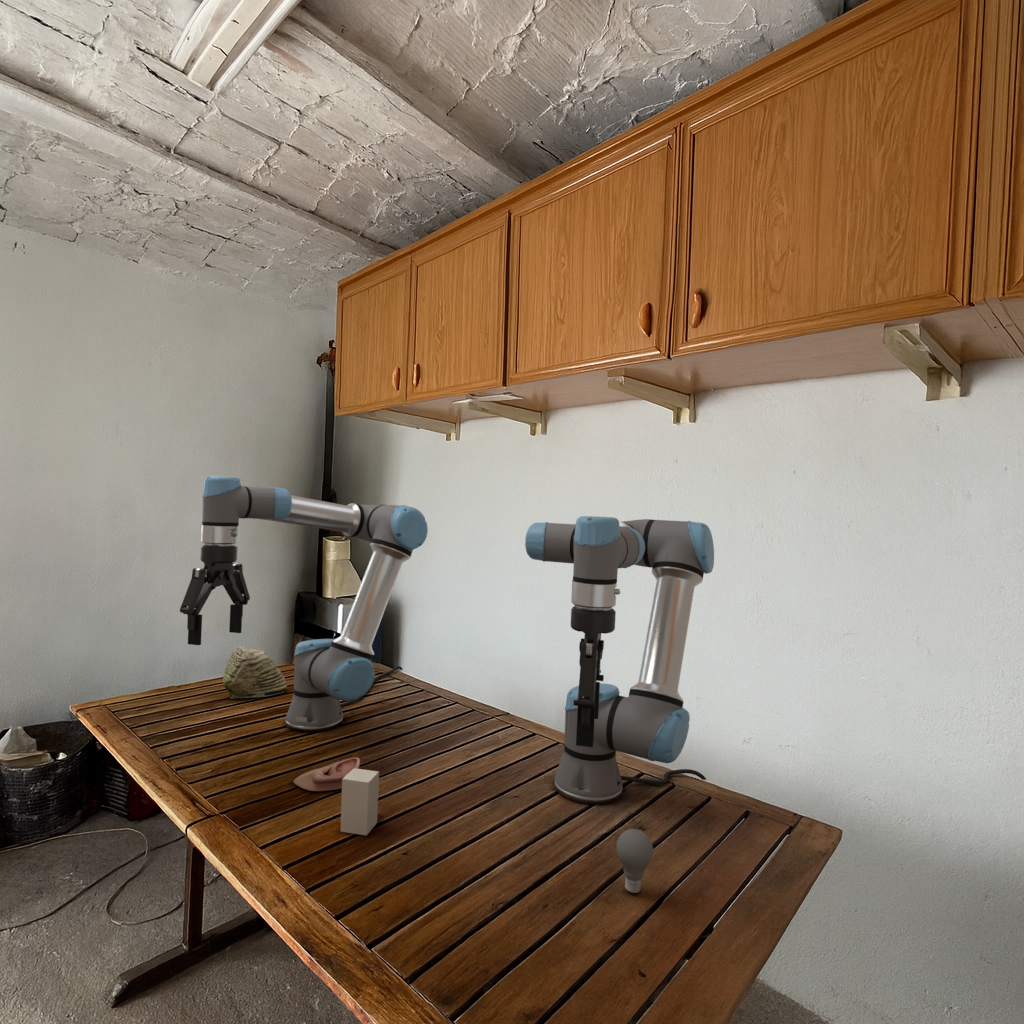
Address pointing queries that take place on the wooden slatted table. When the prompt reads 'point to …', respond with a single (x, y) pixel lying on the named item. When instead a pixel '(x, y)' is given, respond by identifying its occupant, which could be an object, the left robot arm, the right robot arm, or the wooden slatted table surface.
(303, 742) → the wooden slatted table surface
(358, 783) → the block
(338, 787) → the anatomical model
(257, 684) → the fossil
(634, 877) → the light bulb
